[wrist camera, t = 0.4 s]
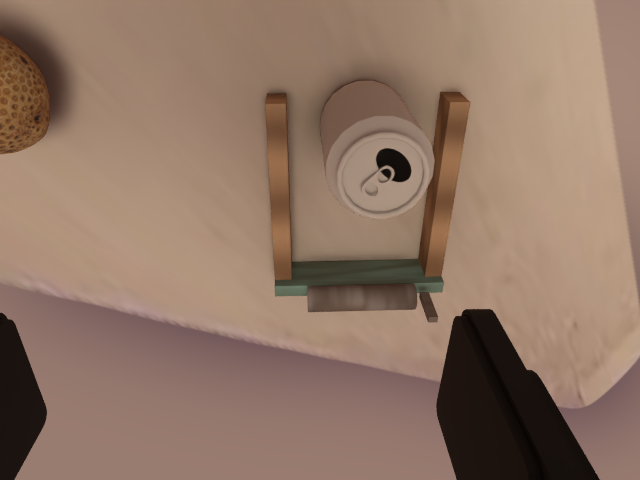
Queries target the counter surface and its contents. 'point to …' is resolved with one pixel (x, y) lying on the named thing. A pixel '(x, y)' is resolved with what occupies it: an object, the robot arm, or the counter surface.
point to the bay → (375, 275)
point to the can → (374, 151)
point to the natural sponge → (21, 100)
